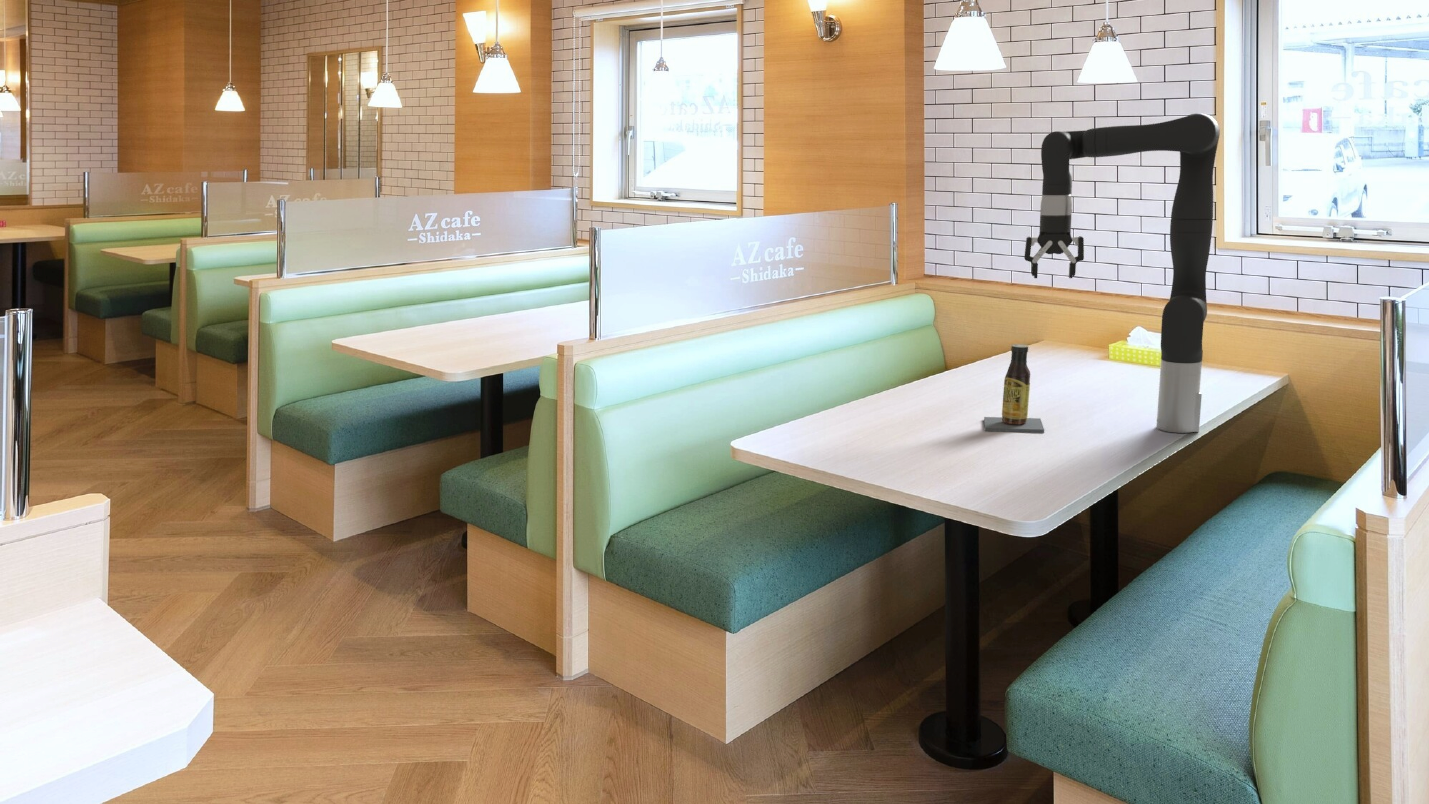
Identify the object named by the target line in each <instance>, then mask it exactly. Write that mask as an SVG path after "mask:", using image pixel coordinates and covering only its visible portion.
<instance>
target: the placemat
mask: <svg viewBox="0 0 1429 804" xmlns="http://www.w3.org/2000/svg"><path fill="white" fill-rule="evenodd" d="M1026 419H1027V421H1026V423H1025V424H1021V425H1012V424H1006V423H1004V422H1003V421H1002V416H1001V417H1000V416H999V417H995V416H984V417H983V422H984V430H985V432H1003V433H1005V432H1006V433H1007V432H1008V433H1010V432H1011V433H1037V434H1038V433H1039V434H1040V433H1043V434H1044V433H1045V428H1044V425H1043V423H1042V422H1043V421H1042V418H1041V417H1040V418H1038V417H1035V418H1033V417H1027V418H1026Z"/></svg>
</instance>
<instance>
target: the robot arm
mask: <svg viewBox="0 0 1429 804" xmlns="http://www.w3.org/2000/svg"><path fill="white" fill-rule="evenodd" d="M1220 134H1221V129H1220V124H1219V123H1218V121H1216V119H1215V118H1213V116H1211V115H1208V114H1205V113H1199V112H1198V113H1197V112H1196V113H1191V114H1189V115H1186V116H1183V117H1179V118H1175V119H1171V120H1168V121H1162V122H1158V123H1149V124H1137V125H1136V124H1135V125H1134V124H1133V125H1114V126H1104V127H1094V128H1088V129H1086V130H1073V131H1072V130H1070V131H1069V130H1067V131H1051V132H1050V133H1048V134H1046V136H1045V137H1044V138H1043V140H1042V143H1041V150H1040V157H1041V159H1040V160H1041V170H1042V175H1043V176H1042V177H1043V178H1042V190H1041V191H1042V192H1041V201H1040V210H1039V213H1040V214H1039V232H1038V233H1039V234H1038V236H1037V237H1031V236H1026V239H1025V247H1024V248H1025V249H1024V257H1023V258H1024V260H1025V261H1026V262H1029V263H1030V264H1031V269H1030V270H1031V272H1030V273H1031V276H1032V277H1033V278H1034V279H1038V271H1039V270H1038V269H1039V262H1038V261H1040V259H1041V258H1042V257H1043V256H1044V254H1046V255H1053V254H1056V255H1062V254H1063V253H1064V254H1065V256H1066V257H1067V258H1068V260H1069V261H1070V262H1069V266H1068V278H1069V279H1073V277H1075V276H1076V270H1077V269H1076V267H1077V263H1079V262H1081V261H1084V259H1085V257H1084V256H1085V245H1084V244H1085V243H1084V242H1085V241H1084V240H1085V239H1084V237H1083V236H1081V235H1080V236H1075V237H1072V235H1071V234H1072V232H1071V231H1072V214H1073V200H1072V192H1073V191H1072V190H1073V175H1072V173H1071V171H1070V160H1075V159H1083V158H1106V157H1115V156H1124V155H1131V154H1136V153H1143V152H1144V153H1145V152H1157V151H1161V152H1162V151H1165V152H1166V151H1168V152H1179V164H1180V165H1179V167H1180V168H1179V176H1178V178H1179V179H1178V182H1177V187H1176V190H1175V193H1174V197H1173V203H1172V207H1171V214H1170V218H1171V219H1170V228H1169V246H1170V255H1171V260H1172V261H1171V262H1172V269H1173V271H1172V272H1173V273H1172V274H1173V277H1172V284H1171V291H1170V292H1171V293H1170V297H1169V300H1168V302H1166V304H1165V306H1164V308H1163V310H1162V316H1161V329H1160V330H1161V332H1160V351H1161V356H1160V367H1159V369H1160V370H1159V371H1160V372H1159V384H1158V385H1159V386H1158V399H1157V412H1156V413H1157V414H1156V429H1158V430H1160V431H1163V432H1167V433H1168V432H1169V433H1179V434H1181V433H1182V434H1185V433H1186V434H1188V433H1193V432H1194V433H1197V432H1198V433H1199V432H1200V421H1201V420H1200V419H1201V409H1202V398H1203V397H1202V392H1200V391H1201V382H1202V381H1201V379H1202V378H1201V377H1202V365H1203V356H1204V355H1203V354H1204V352H1203V336H1204V335H1203V334H1204V322H1205V320H1206V319H1207V315H1208V306H1207V305H1208V304H1207V284H1206V283H1207V282H1206V281H1207V279H1206V278H1207V277H1206V276H1207V268H1208V261H1209V256H1210V251H1211V243H1212V234H1213V222H1214V220H1213V219H1214V179H1213V178H1214V167H1215V160H1216V157H1217V149H1218V146H1219V141H1220V140H1219V139H1220ZM1035 243H1037V244H1038V246H1040V248H1039V249H1038V251H1037V252H1036V253H1035V255H1034V256H1033V257H1032V256H1031V251H1032V247H1033V246H1034V245H1035ZM1072 243H1074V245H1075V246H1077V255H1076V256H1074V255H1073V254H1072V252H1071V251H1070V250H1069V246H1070V245H1071V244H1072Z"/></svg>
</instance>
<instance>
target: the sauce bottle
mask: <svg viewBox="0 0 1429 804" xmlns="http://www.w3.org/2000/svg"><path fill="white" fill-rule="evenodd" d="M1010 350H1011V359H1010V364H1009V366H1008V369H1007V371H1006V374H1005V377H1004V382H1003V393H1002V394H1003V395H1002V408H1001V409H1002V410H1001V417H1002V421H1003V422H1004V423H1006V424H1012V425H1021V424H1025V423H1026V421H1027V419H1026V418H1028V413H1029V402H1030V390H1031V389H1030V388H1031V383H1030V382H1031V381H1030V380H1031V370H1030V369H1029V368H1028V367H1029V366H1028V364H1027V363H1028V362H1027V360H1028V359H1027V358H1028V352H1029V346H1028V345H1026V344H1019V343H1018V344H1012V345H1011V347H1010Z"/></svg>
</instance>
